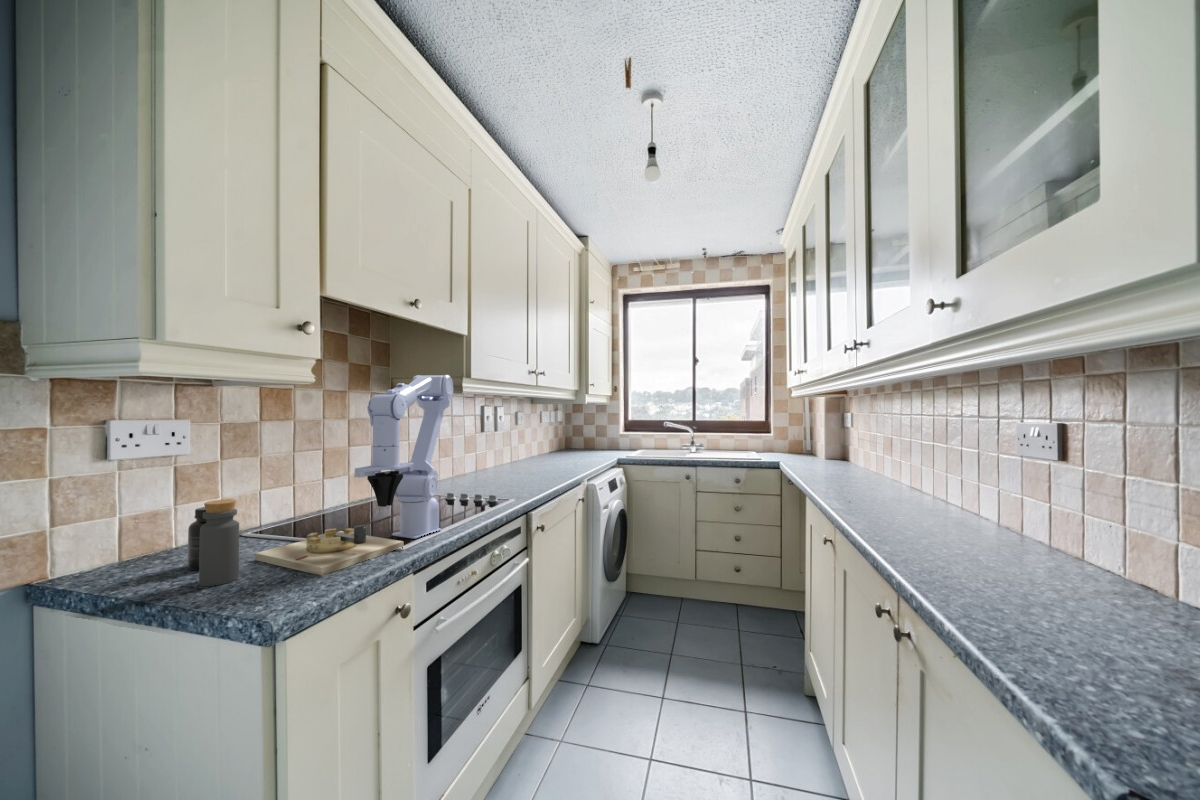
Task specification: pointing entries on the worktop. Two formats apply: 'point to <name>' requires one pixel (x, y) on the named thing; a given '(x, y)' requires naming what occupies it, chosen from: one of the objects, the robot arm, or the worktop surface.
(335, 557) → the base board
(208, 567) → the bottle
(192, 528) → the supplement bottle
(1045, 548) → the worktop surface
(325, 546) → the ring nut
